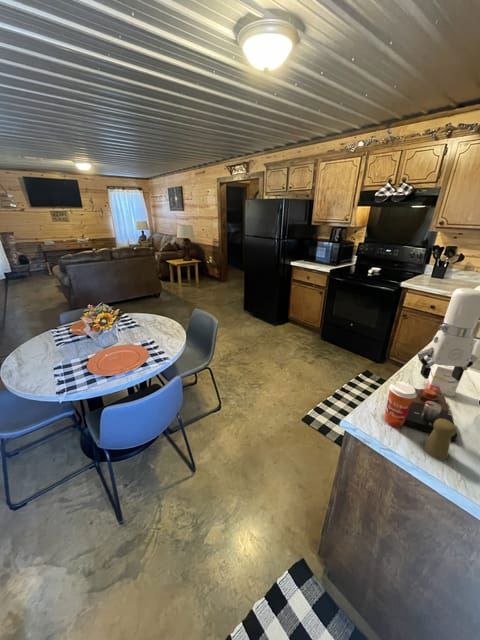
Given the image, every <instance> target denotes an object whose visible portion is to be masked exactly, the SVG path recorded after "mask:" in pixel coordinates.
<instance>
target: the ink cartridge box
mask: <svg viewBox="0 0 480 640" xmlns="http://www.w3.org/2000/svg"><path fill="white" fill-rule="evenodd" d="M454 367H455V366H445V365H437V364H434V365H432V367H431V371H430V374H429V377H428V379H427V382H426V387H427V389H431V390H433V391H434V392H435V393H436V394H440V395H444V396H450V397H454V396H455V394H456V391H457V389H458V386H459V384H460V381H461V380H460V381H457V380H456V379H455V378H453V377H452V376H451V375H452V372H453V370H454Z"/></svg>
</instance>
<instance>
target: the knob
mask: <svg viewBox="0 0 480 640" xmlns="http://www.w3.org/2000/svg"><path fill="white" fill-rule="evenodd" d="M440 411H441V406H440V405H439V404H437V403H435V402H433V401H426V402H425V405H424V408H423V411H422V414H421V415H422V417H423V418H425V419H426V420H428V421H431V422H435V420H437V419H438V416H439V414H440Z"/></svg>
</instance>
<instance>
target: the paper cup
mask: <svg viewBox="0 0 480 640" xmlns="http://www.w3.org/2000/svg"><path fill="white" fill-rule="evenodd" d="M414 388H415V387H414V386H412V385H411V384H409V383H407V382H405V381H404V382H403V381H394V382H393V383H392V384H389V392H388V396H387V402H386V406H385V413H384V421H385V422H386V423H387V424H388V425H389V426H392V427H395V428H400V427H402V426H404V420H405V418H406V416H407V413H408V411H409V409H410V406H411V404H412V402H413V399H414V398H416V396H417V394H416V392H415V389H414Z"/></svg>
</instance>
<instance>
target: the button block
mask: <svg viewBox="0 0 480 640" xmlns="http://www.w3.org/2000/svg"><path fill="white" fill-rule="evenodd" d="M413 388H414V389H415V392H416V394H417V396H416V398H414V399H413V402H412V404H413V405H417V406H421V407H424V405H425V402H426V401H433V402H435V403H437V404H439V405H440V406H441V411H440V412H442V413H445V414H449V413H450V410H449V406H448V403H447V401H446V397H445V395H444V394H440V393H437V392H435V396H434V398H430V397H427V396H425V395H423V391H424V389H425V388H416V387H413Z"/></svg>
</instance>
